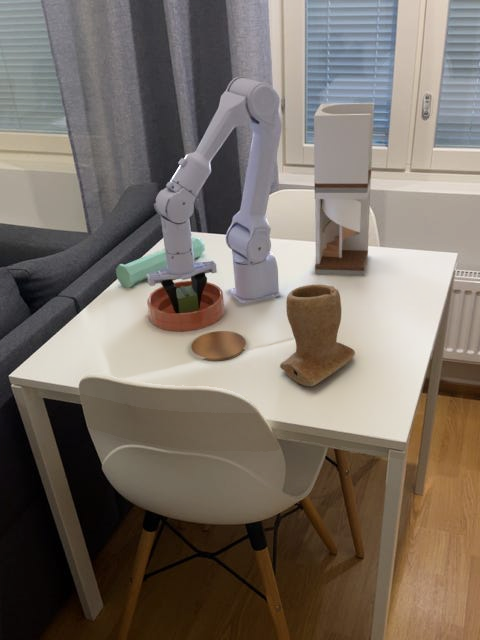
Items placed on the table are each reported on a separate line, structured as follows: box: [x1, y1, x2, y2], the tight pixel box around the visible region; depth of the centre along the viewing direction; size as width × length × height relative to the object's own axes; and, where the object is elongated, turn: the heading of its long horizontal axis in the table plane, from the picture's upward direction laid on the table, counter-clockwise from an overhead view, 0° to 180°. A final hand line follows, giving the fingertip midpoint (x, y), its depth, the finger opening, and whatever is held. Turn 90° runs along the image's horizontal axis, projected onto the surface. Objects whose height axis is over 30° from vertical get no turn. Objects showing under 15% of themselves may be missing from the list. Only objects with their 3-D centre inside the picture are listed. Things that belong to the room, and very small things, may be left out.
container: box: [115, 236, 206, 288], centre depth 170 cm, size 6×6×25 cm
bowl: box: [146, 280, 225, 332], centre depth 150 cm, size 16×16×4 cm
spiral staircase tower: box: [313, 102, 375, 277], centre depth 156 cm, size 11×11×35 cm
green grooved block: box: [176, 286, 199, 313], centre depth 149 cm, size 4×5×5 cm
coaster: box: [190, 330, 247, 362], centre depth 139 cm, size 11×11×1 cm
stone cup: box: [279, 284, 356, 387], centre depth 126 cm, size 15×12×15 cm
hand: (186, 309), depth 150 cm, fingers closed on green grooved block, 4 cm apart
